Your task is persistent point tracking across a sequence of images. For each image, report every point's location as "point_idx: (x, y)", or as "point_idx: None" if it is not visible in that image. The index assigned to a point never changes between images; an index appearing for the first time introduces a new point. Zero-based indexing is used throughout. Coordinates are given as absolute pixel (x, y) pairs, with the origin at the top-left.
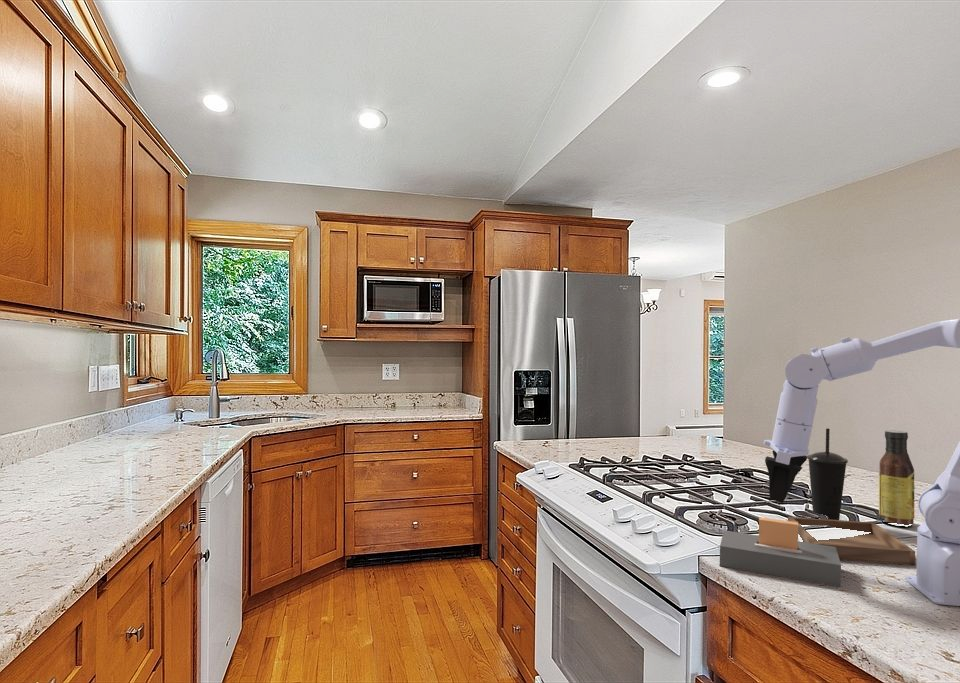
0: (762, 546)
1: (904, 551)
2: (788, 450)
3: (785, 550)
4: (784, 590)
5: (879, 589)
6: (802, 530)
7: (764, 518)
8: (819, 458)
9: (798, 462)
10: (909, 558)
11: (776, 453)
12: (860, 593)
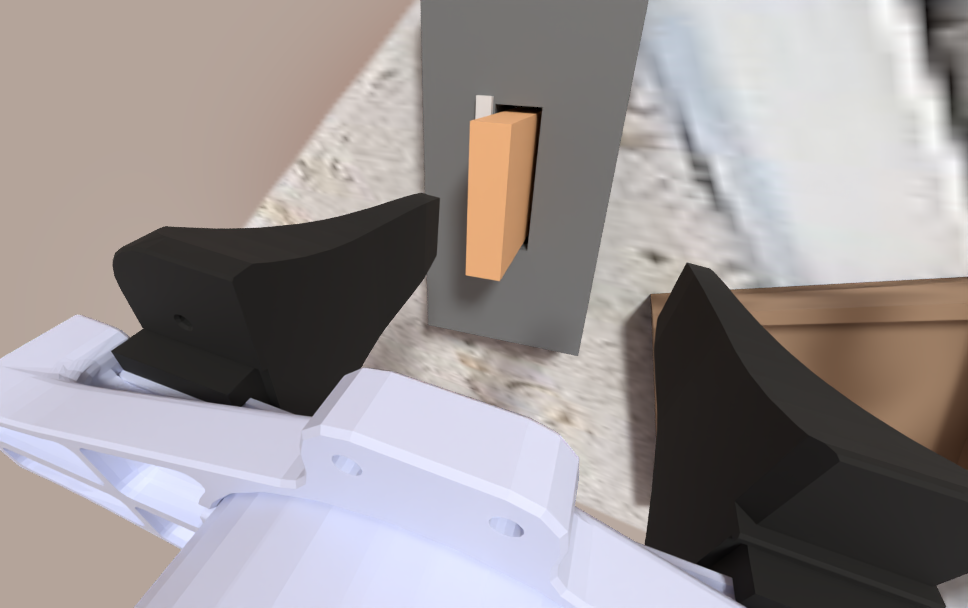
0: None
1: None
2: (129, 506)
3: None
4: (364, 166)
5: (474, 368)
6: (824, 310)
7: (500, 148)
8: None
9: (656, 532)
10: None
11: (773, 462)
12: (433, 326)
